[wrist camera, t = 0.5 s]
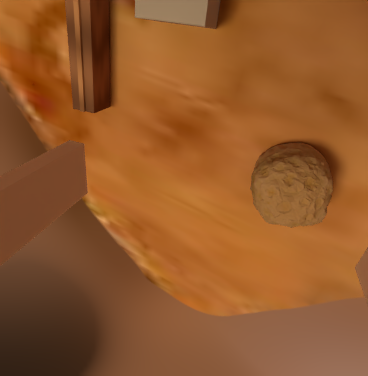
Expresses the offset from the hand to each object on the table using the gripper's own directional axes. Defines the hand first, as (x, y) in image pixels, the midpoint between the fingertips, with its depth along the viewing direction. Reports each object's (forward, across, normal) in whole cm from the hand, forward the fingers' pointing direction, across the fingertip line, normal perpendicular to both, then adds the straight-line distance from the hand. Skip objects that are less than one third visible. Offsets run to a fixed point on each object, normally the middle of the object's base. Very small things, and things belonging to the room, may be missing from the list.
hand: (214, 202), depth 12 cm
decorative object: (+24, +7, -9) cm, 27 cm away
